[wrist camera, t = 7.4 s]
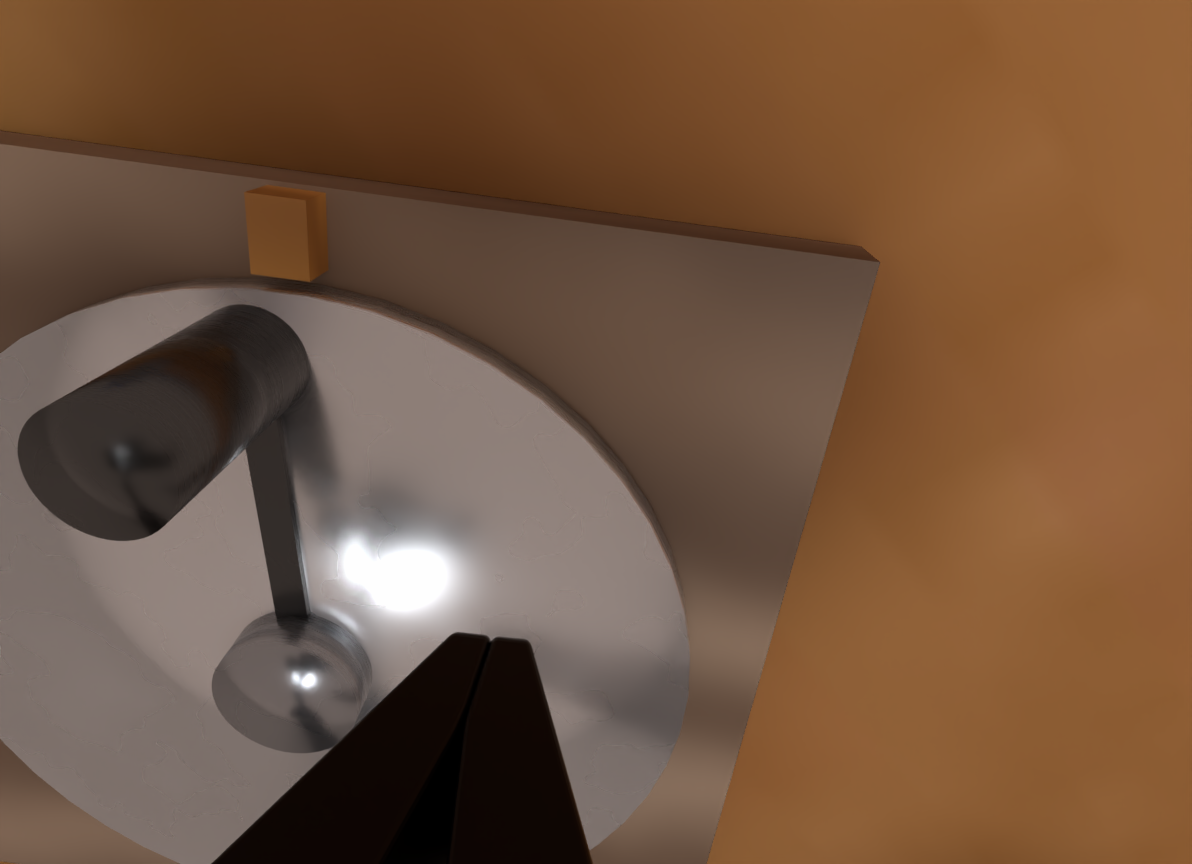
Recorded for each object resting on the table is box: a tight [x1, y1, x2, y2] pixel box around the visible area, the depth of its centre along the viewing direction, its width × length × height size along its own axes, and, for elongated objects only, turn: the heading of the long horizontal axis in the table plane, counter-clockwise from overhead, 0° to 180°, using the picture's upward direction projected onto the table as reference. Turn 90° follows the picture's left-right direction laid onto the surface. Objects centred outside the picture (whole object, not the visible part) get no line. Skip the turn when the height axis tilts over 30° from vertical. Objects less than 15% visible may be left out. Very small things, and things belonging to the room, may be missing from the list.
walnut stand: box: [0, 131, 880, 864], centre depth 21 cm, size 24×24×2 cm
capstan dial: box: [0, 278, 690, 864], centre depth 18 cm, size 20×20×6 cm
